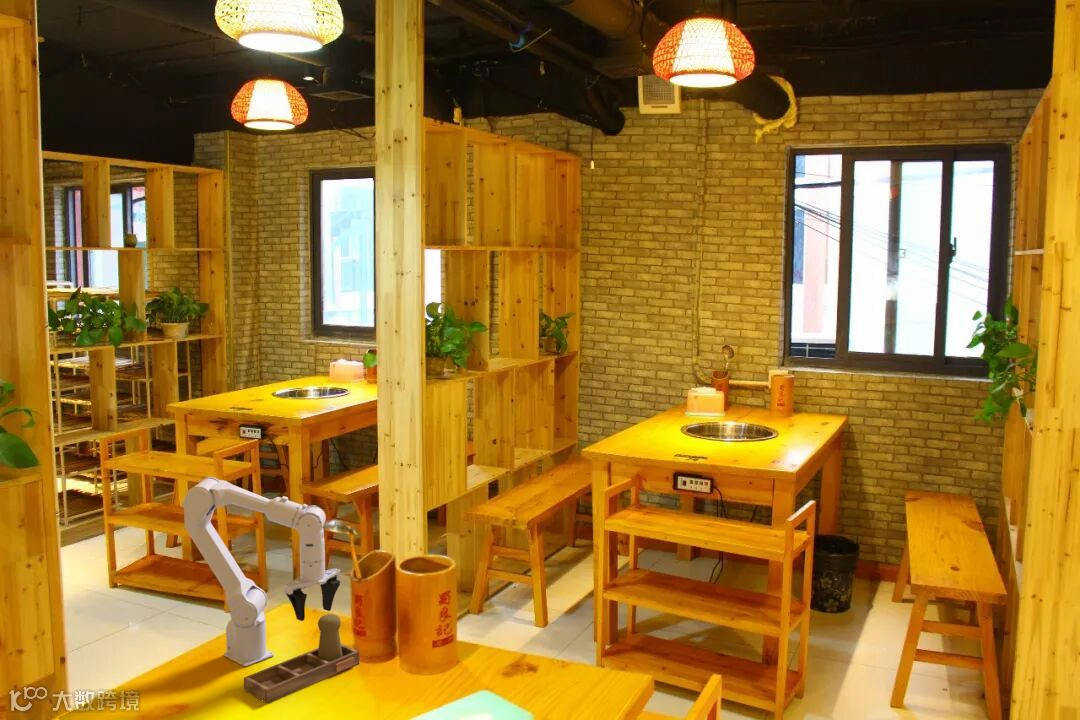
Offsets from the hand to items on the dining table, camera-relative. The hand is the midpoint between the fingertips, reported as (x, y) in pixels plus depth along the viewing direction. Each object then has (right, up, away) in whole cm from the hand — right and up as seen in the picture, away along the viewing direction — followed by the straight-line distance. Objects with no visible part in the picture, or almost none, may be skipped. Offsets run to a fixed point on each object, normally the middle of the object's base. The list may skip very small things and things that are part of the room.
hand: (313, 614), depth 214 cm
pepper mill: (+5, -10, -3) cm, 12 cm away
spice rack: (0, -11, -9) cm, 15 cm away
